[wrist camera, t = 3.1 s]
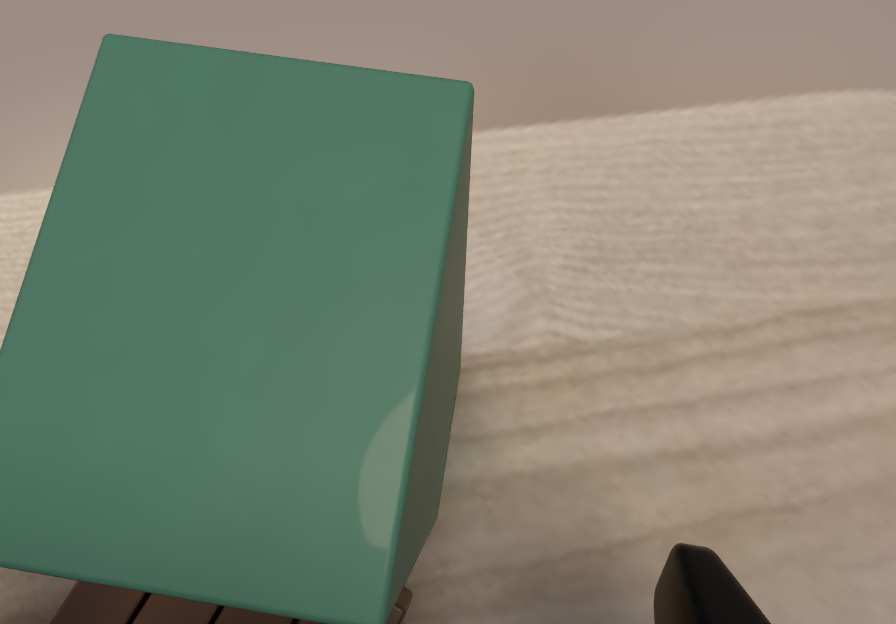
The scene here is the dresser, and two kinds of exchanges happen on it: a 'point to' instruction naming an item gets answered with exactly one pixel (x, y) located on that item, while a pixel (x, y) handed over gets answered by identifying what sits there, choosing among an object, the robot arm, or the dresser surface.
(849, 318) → the dresser surface
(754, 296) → the dresser surface
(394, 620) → the rack
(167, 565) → the block
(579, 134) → the dresser surface
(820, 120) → the dresser surface
